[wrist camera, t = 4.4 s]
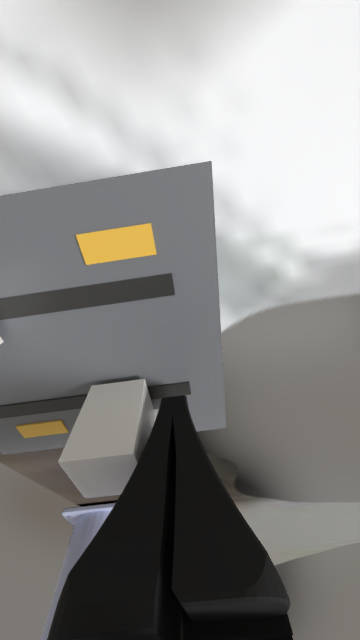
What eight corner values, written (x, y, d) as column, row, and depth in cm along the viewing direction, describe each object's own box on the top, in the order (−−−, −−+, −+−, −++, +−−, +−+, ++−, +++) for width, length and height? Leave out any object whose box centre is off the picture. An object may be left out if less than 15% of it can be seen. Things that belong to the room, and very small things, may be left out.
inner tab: (155, 414, 13) (149, 491, 10) (107, 420, 13) (84, 498, 10) (144, 378, 12) (133, 453, 8) (91, 385, 12) (58, 462, 8)
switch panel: (220, 403, 16) (226, 429, 15) (20, 428, 17) (1, 456, 15) (203, 169, 9) (211, 160, 7) (-142, 225, 10) (-214, 231, 8)
